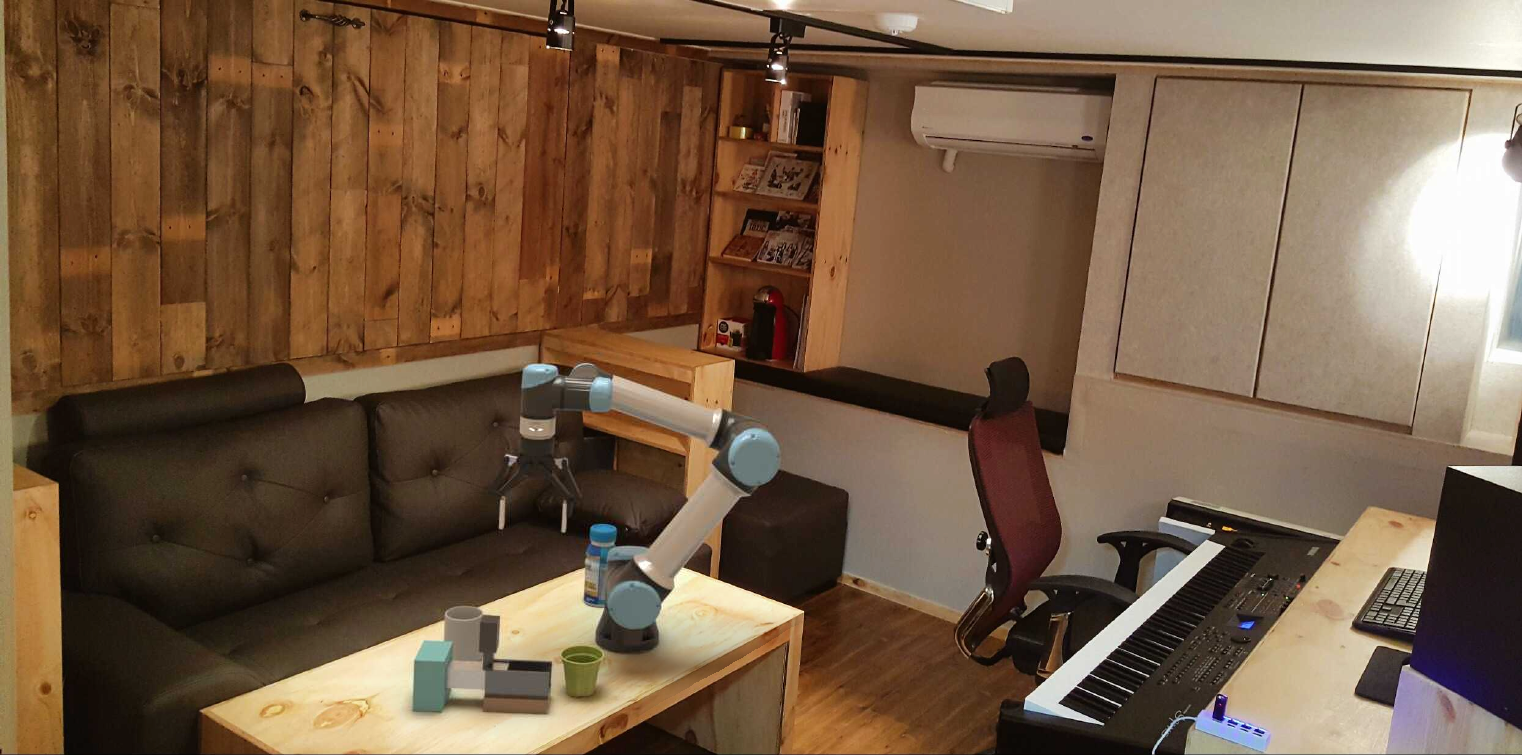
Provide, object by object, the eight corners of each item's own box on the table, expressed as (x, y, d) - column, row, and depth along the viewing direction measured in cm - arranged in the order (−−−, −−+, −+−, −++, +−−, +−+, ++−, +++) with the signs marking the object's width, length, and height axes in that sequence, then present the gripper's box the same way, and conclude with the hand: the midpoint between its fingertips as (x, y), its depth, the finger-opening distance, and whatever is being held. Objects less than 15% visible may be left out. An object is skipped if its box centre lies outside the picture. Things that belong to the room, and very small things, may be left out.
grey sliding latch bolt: (508, 681, 252) (511, 616, 250) (505, 690, 248) (508, 624, 246) (430, 678, 251) (432, 612, 248) (426, 687, 247) (428, 620, 244)
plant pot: (582, 705, 253) (584, 667, 251) (548, 692, 258) (550, 654, 256) (610, 690, 261) (613, 653, 259) (577, 678, 266) (579, 641, 264)
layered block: (550, 696, 256) (552, 659, 254) (546, 713, 248) (548, 675, 246) (488, 693, 255) (490, 656, 253) (483, 711, 247) (484, 672, 245)
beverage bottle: (613, 609, 306) (617, 534, 302) (580, 606, 306) (584, 531, 302) (617, 597, 314) (622, 524, 311) (585, 594, 314) (589, 521, 311)
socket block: (451, 690, 255) (453, 641, 253) (442, 711, 245) (444, 661, 243) (422, 688, 254) (424, 640, 252) (412, 710, 245) (414, 660, 243)
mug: (455, 670, 265) (457, 623, 263) (435, 656, 271) (437, 610, 268) (502, 657, 273) (504, 611, 271) (482, 644, 279) (484, 599, 277)
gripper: (476, 436, 256) (472, 531, 260) (593, 443, 258) (588, 537, 262) (481, 427, 264) (478, 520, 268) (595, 434, 266) (590, 526, 270)
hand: (532, 528), depth 265 cm, fingers open, 13 cm apart
